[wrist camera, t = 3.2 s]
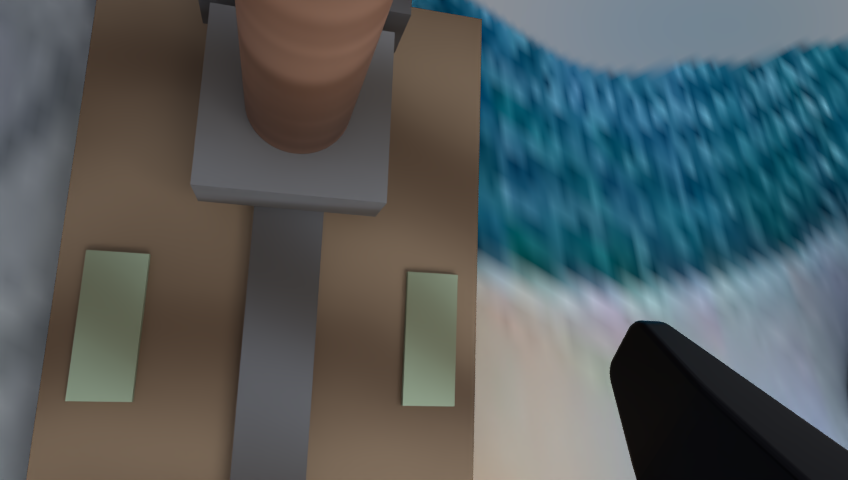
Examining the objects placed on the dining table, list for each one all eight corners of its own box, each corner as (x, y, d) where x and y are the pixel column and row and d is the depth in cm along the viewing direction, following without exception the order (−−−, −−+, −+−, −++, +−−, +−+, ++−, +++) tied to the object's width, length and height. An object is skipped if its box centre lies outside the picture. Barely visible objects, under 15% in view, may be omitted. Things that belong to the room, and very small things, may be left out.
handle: (375, 216, 18) (516, 46, 8) (198, 201, 17) (91, -25, 7) (383, 61, 19) (518, -275, 9) (215, 35, 18) (145, -386, 8)
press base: (450, 782, 18) (498, 895, 14) (-7, 846, 15) (-96, 1007, 11) (467, 40, 22) (507, -22, 19) (115, -18, 20) (79, -104, 16)
